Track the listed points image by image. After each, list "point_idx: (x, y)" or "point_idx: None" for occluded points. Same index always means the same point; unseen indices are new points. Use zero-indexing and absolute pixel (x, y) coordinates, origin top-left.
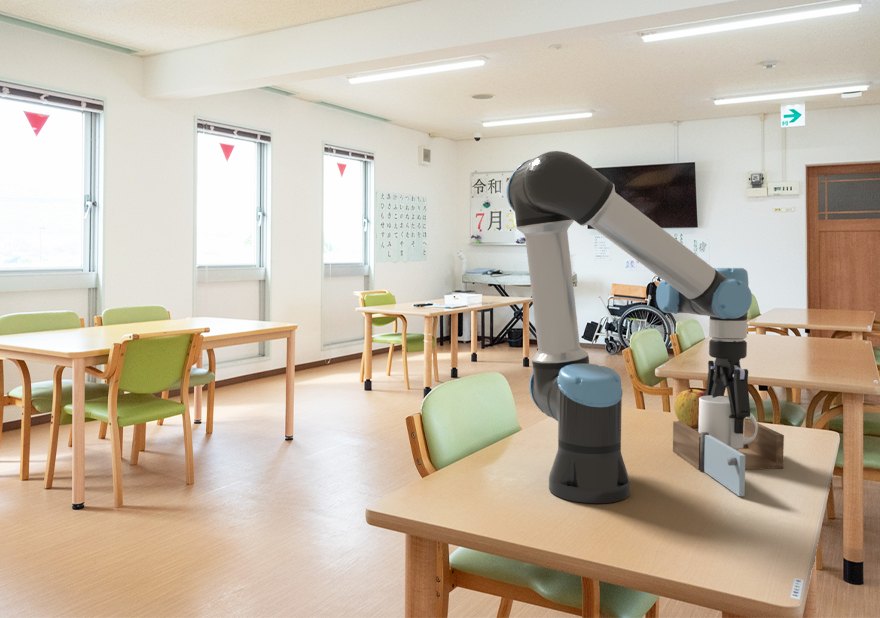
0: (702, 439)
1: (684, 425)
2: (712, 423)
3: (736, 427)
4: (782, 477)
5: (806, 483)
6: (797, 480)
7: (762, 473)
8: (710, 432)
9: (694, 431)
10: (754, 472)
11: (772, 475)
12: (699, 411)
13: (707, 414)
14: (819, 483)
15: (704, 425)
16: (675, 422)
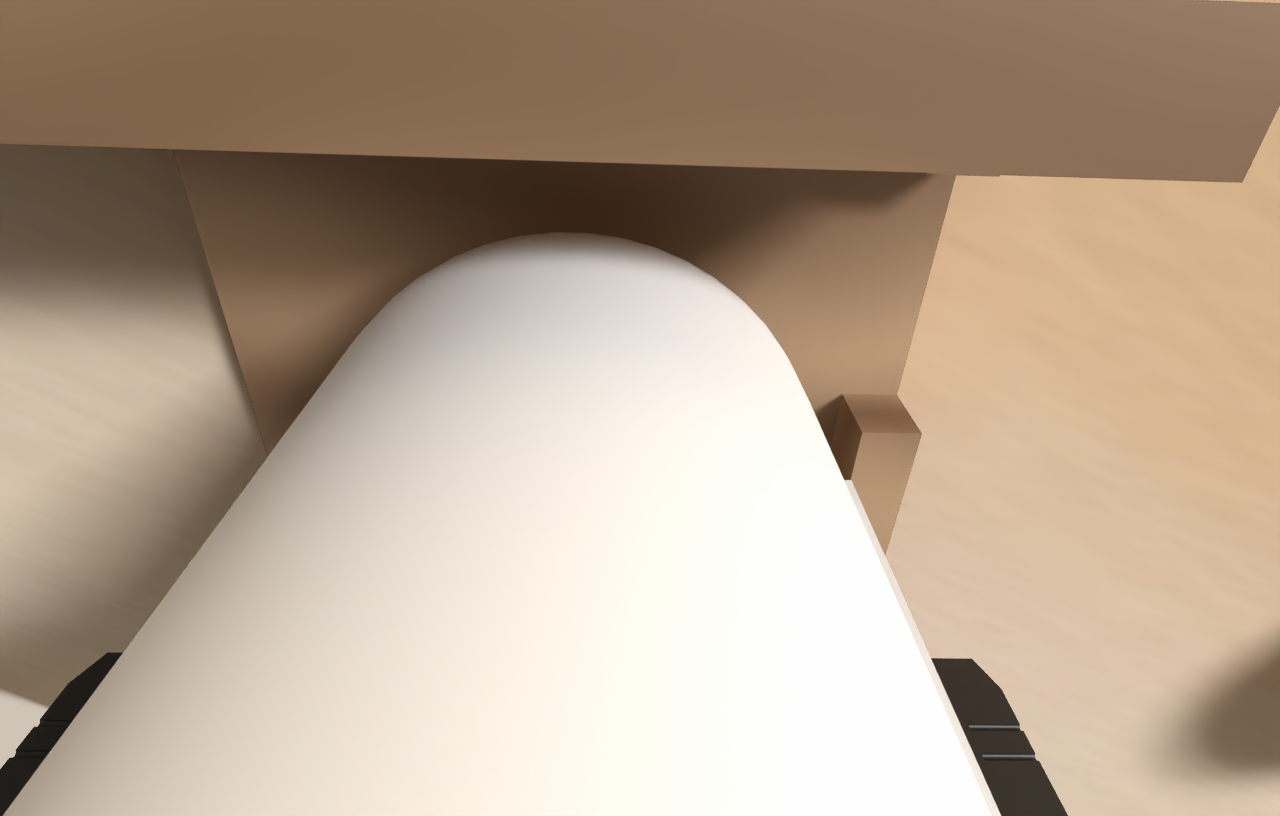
0: None
1: (840, 104)
2: (220, 530)
3: (41, 740)
4: (116, 581)
5: (12, 643)
6: (68, 627)
7: (189, 510)
8: (322, 398)
9: (239, 81)
10: (205, 470)
11: (151, 547)
12: (615, 581)
13: (187, 625)
14: (42, 696)
15: (396, 399)
16: (1197, 7)
